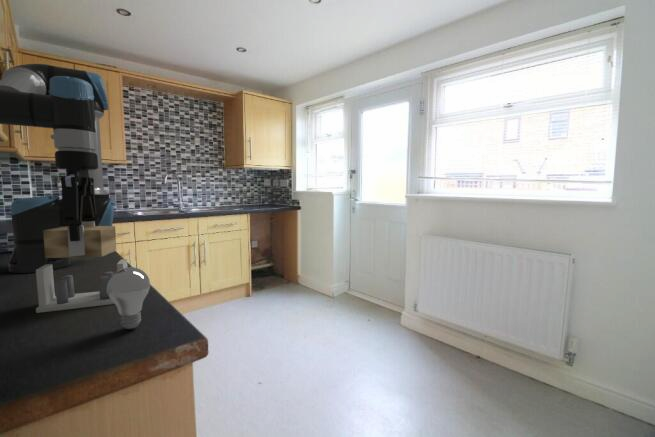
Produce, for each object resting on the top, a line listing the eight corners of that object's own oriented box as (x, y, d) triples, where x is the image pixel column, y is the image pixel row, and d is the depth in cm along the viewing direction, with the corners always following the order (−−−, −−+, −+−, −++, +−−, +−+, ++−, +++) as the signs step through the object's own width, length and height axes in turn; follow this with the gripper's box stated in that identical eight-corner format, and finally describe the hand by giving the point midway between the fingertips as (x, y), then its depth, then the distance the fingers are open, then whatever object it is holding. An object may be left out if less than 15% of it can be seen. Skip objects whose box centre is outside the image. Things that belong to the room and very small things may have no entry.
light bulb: (160, 324, 63) (157, 265, 62) (128, 340, 56) (124, 274, 55) (134, 319, 65) (131, 261, 64) (100, 333, 59) (96, 270, 57)
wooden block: (116, 250, 78) (115, 226, 77) (101, 256, 71) (100, 230, 70) (65, 251, 76) (63, 226, 75) (45, 257, 69) (43, 230, 68)
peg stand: (51, 300, 75) (48, 263, 74) (130, 292, 81) (128, 257, 80) (36, 312, 68) (32, 271, 67) (123, 302, 74) (121, 265, 73)
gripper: (71, 154, 79) (78, 244, 81) (33, 144, 60) (43, 263, 62) (107, 155, 82) (113, 243, 84) (82, 147, 63) (90, 259, 65)
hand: (83, 251), depth 73 cm, fingers closed on wooden block, 8 cm apart
